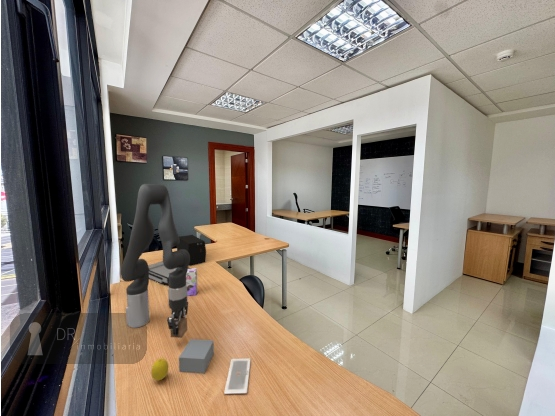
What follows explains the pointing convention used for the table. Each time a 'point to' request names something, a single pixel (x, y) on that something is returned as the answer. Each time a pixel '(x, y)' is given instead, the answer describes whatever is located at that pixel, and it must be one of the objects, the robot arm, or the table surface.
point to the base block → (196, 356)
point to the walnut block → (180, 328)
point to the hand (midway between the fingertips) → (179, 330)
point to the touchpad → (237, 376)
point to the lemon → (159, 369)
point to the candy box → (191, 281)
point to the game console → (160, 273)
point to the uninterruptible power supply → (193, 249)
